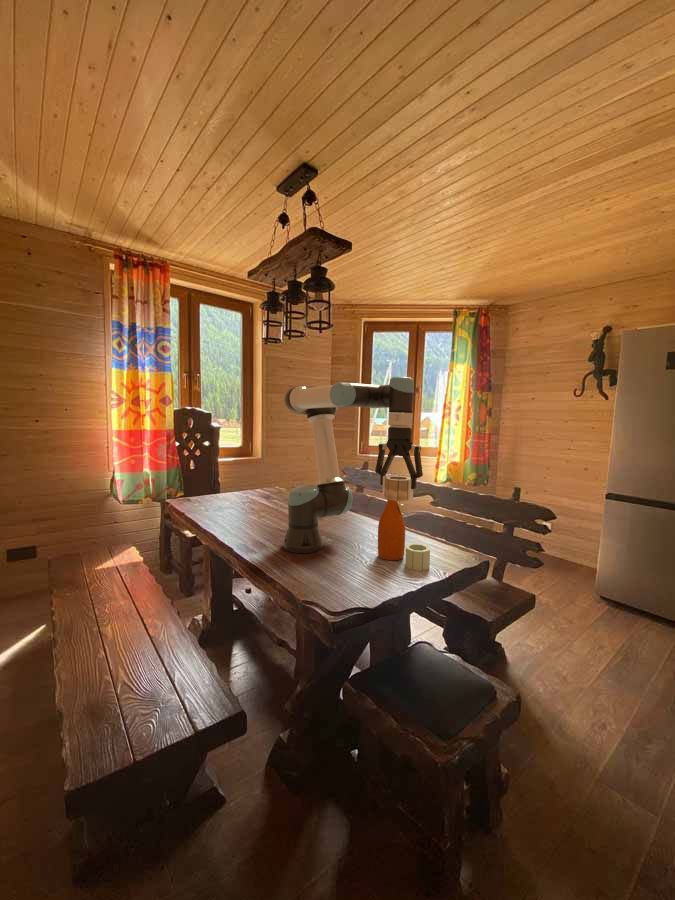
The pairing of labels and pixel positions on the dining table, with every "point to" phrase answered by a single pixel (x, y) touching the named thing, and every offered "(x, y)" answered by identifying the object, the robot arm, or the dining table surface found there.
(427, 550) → the sage ring
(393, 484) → the birch ring
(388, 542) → the wine bottle
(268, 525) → the dining table surface
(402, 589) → the dining table surface
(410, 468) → the robot arm
